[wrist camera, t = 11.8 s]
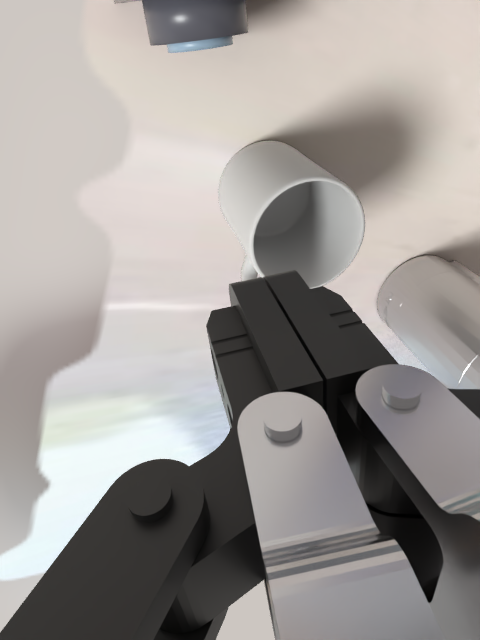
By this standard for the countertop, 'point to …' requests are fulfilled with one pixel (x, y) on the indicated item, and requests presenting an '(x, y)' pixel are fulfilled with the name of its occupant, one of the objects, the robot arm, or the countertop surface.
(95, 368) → the countertop surface
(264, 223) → the mug
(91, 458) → the countertop surface
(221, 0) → the camera box
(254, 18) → the countertop surface
